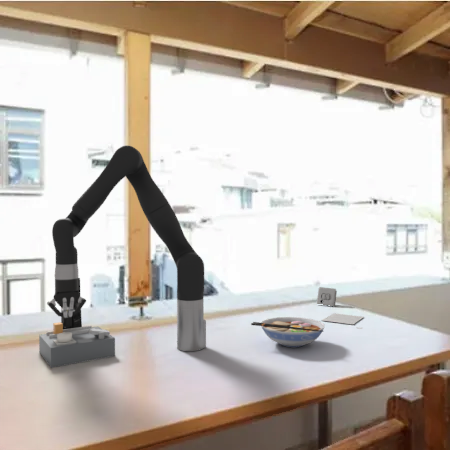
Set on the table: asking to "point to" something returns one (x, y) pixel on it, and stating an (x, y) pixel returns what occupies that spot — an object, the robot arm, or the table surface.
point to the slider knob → (57, 328)
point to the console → (76, 347)
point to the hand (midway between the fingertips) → (67, 327)
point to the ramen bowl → (291, 330)
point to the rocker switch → (98, 331)
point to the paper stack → (343, 318)
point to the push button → (64, 337)
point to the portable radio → (75, 318)
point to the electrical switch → (326, 296)
